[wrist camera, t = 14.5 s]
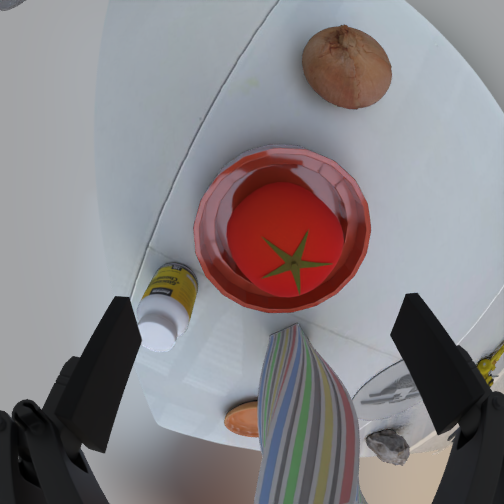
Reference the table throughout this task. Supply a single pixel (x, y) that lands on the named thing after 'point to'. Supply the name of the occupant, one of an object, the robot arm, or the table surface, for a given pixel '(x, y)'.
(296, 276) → the tomato
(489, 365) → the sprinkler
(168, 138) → the table surface
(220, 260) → the red bowl
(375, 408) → the plate
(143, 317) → the pill bottle
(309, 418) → the vase
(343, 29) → the onion
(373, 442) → the rock
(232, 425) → the saucer
